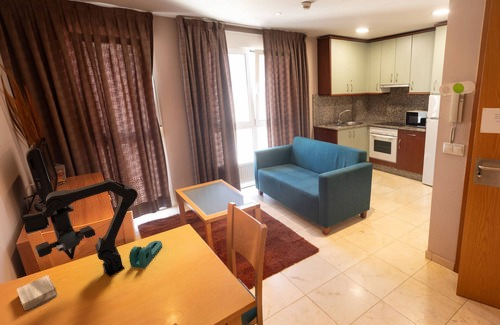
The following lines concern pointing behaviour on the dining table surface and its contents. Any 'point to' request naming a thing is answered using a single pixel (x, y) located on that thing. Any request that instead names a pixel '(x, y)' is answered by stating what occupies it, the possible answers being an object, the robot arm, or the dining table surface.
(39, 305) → the charcoal rubber mat
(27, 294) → the beige streaked flat block
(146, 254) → the bracket
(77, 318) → the dining table surface
